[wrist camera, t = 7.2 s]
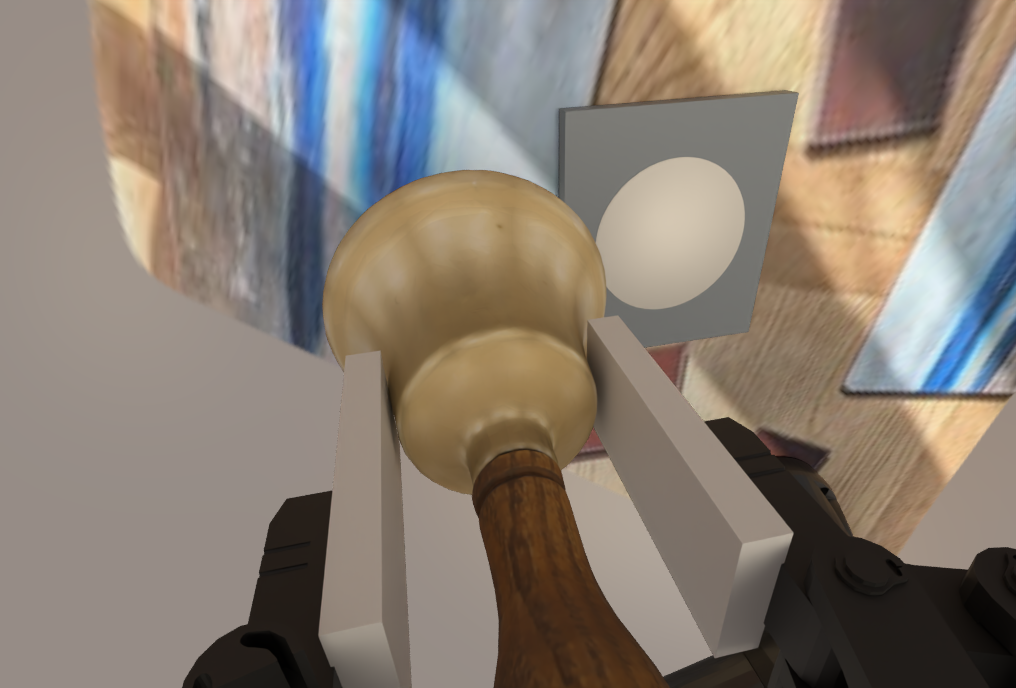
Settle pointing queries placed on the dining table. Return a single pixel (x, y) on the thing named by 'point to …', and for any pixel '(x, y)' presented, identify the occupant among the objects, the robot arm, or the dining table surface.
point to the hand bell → (494, 395)
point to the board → (678, 205)
